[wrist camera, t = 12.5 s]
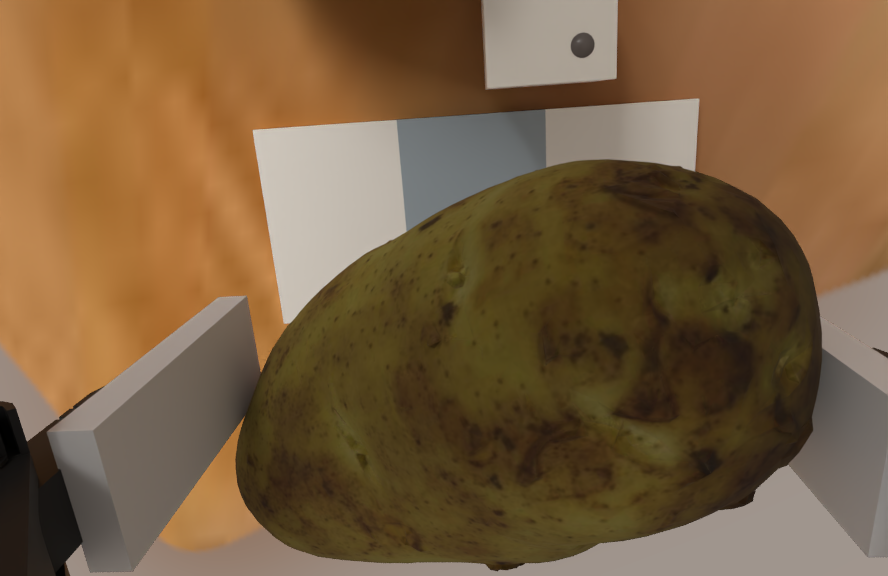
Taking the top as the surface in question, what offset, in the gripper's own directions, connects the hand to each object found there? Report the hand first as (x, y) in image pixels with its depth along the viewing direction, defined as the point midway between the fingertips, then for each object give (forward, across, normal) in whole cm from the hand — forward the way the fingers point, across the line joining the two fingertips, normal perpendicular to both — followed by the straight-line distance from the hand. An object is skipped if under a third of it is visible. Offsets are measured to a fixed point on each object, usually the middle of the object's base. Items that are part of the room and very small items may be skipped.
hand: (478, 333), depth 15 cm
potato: (+2, 0, 0) cm, 2 cm away
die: (+15, +3, +9) cm, 18 cm away
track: (+15, 0, 0) cm, 15 cm away
